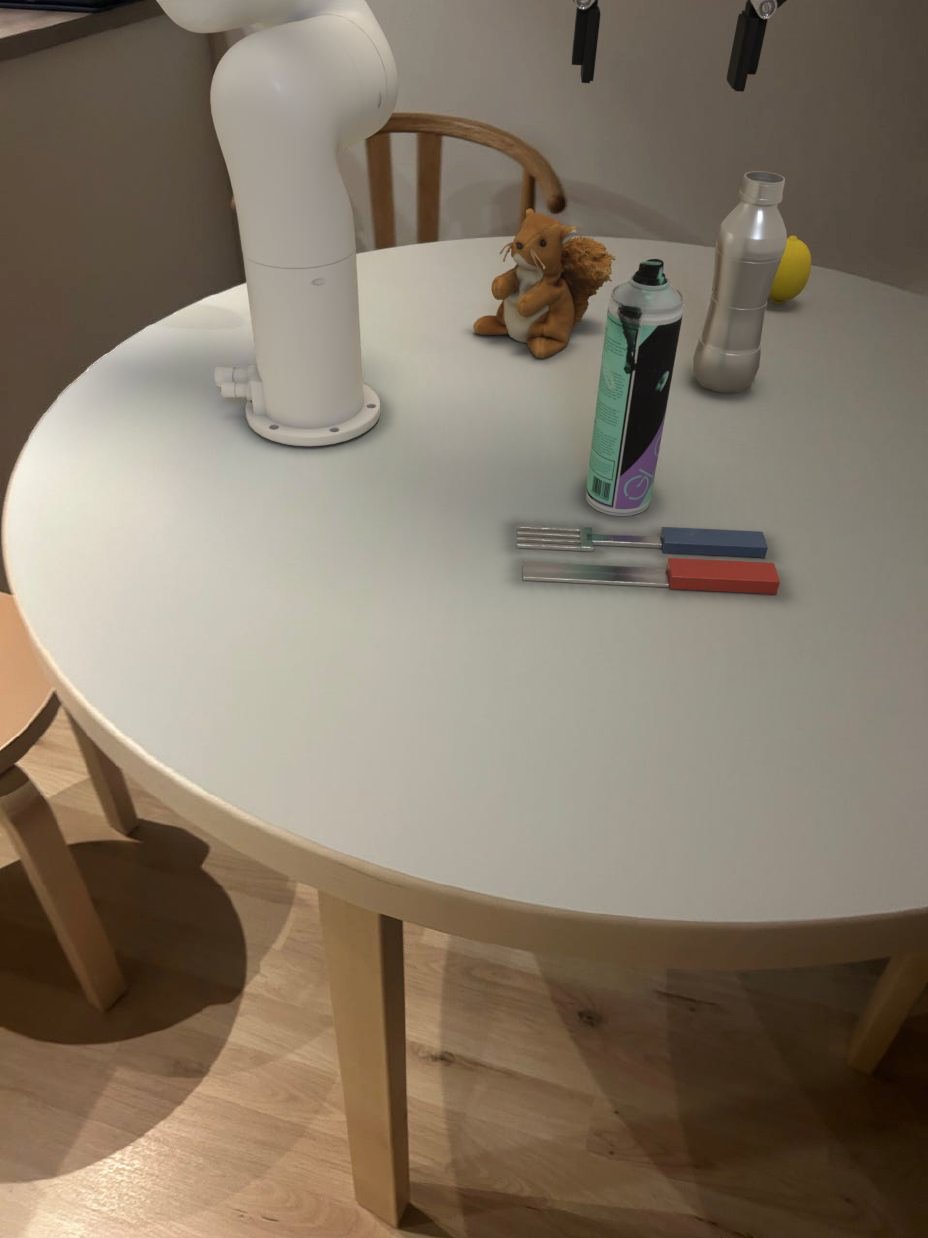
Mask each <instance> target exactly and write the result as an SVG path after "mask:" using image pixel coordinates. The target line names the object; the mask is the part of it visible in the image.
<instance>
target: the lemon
mask: <svg viewBox="0 0 928 1238" xmlns="http://www.w3.org/2000/svg"><path fill="white" fill-rule="evenodd" d="M811 271H812V255H811V251H810V249H809V248H808V246H807V244H806V243H805V242H803V241H802V240H801V239H798V237H797V236H796V235H790V236H789V237H787V244H786V248H785V251H784V254H783V256H782V259H781V262H780V264H779V267H778V270H777V273H776V275H775V278H774V281H773V284H772V287H771V291H770V295H769V298H768V299H771V300H772V301H773V304H775V305H781V304H783V303H784V302H786V301H787V302H788V301H790V300H793V299H794V298H796V297H797V296H799V295H800V294H801V293H802V292H803V290H804V289H805V288H806V286H807V283H808V281H809V278H810V275H811Z"/></svg>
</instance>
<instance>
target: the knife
mask: <svg viewBox="0 0 928 1238" xmlns="http://www.w3.org/2000/svg"><path fill="white" fill-rule="evenodd" d="M522 581H532V582H534V581H535V582H552V583H571V584H572V583H573V584H574V583H575V584H591V585H593V584H594V585H615V586H630V587H631V586H632V587H633V586H634V587H650V588H651V587H653V588H655V587H656V588H669V589H670V590H682V591H683V590H684V591H705V592H706V591H707V592H726V593H745V594H763V595H764V594H766V595H777V593H778V590H779V587H780V585H781V581H780V578H779V574H778V572H777V568H776V566H775V563H774V562H763V561H745V560H744V561H742V560H741V561H740V560H723V559H722V560H721V559H703V558H702V559H701V558H683V557H682V558H681V557H668V559H667V564H666V567H664V568H663V567H646V566H645V567H643V566H625V565H624V566H623V565H603V564H586V563H585V564H584V563H583V564H581V563H562V562H545V561H543V562H541V561H522Z"/></svg>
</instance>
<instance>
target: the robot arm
mask: <svg viewBox="0 0 928 1238" xmlns="http://www.w3.org/2000/svg"><path fill="white" fill-rule="evenodd" d="M155 1H156V2H157V3H158V5H159V6H160V8H161V9H162V10H163V12H164V13H165V14H166V15H167V16H168V17H169V19H170V20H172V22H174V23H175V24H176V25H177V26H178V27H180V28H182V29H184V30H186V31H189V32H191V33H196V34H197V33H198V34H213V33H221V32H226V31H230V30H235V29H240V28H243V27H246V26H247V27H248V26H251V25H254V24H256V25H257V26H258V28H259V29H260V30H258V31H256V32H254V33H253V32H252V33H251V34H248V35H246V36H245V37H243V38H241V39H240V40H238V41H236V42H235V43H234V44H233V45H232V46H231V47H230V48H229V49H228V50H227V51H226V52H224V55H223V56H222V57H221V59H220V60H219V62H218V64H217V66H216V68H215V71H214V73H213V76H212V80H211V85H210V96H209V97H210V99H209V100H210V101H209V102H210V111H211V117H212V122H213V126H214V130H215V133H216V134H215V135H216V137H217V141H218V143H219V146H220V150H221V153H222V156H223V159H224V163H225V166H226V169H227V172H228V176H229V181H230V184H231V189H232V194H233V199H234V205H235V210H236V216H237V224H238V231H239V238H240V239H239V240H240V247H241V252H242V258H243V259H242V260H243V265H244V266H243V267H244V274H245V282H246V288H247V298H248V306H249V313H250V322H251V329H252V338H253V345H254V353H255V362H256V364H248V366H247V367H236V366H228V365H227V366H226V365H225V366H224V365H222V366H221V365H216V366H215V367H214V370H213V371H214V372H213V381H214V385H215V386H216V387H217V388H220V393H221V396H222V398H234V399H235V398H246V400H247V401H246V403H245V416H246V421H247V423H248V426H249V427H250V428H251V430H253V431H254V433H256V434H258V435H259V436H260V437H263V438H265V439H267V440H269V441H272V442H275V443H279V444H283V445H287V446H295V447H321V446H322V447H323V446H328V445H335V444H339V443H344V442H347V441H351V440H353V439H355V438H358V437H360V436H362V435H363V434H365V433H367V432H368V431H370V429H372V428H373V427H374V426H375V425H376V423H378V421H379V419H380V416H381V400H380V397H379V395H378V393H377V392H376V391H375V390H374V389H372V387H370V386H369V385H367V384H366V383H364V382H363V380H364V379H363V359H362V343H361V342H362V340H361V323H360V322H361V320H360V304H359V303H360V302H359V301H360V299H359V282H358V281H359V280H358V265H357V246H356V231H355V230H356V229H355V220H354V212H353V208H352V204H351V199H350V197H349V193H348V190H347V188H346V185H345V184H344V181H343V177H342V175H341V172H340V169H339V165H338V157H337V155H338V154H339V153H341V152H342V151H344V150H346V149H348V148H350V147H352V146H355V145H357V144H359V143H361V142H363V141H365V140H366V139H369V138H370V137H372V136H373V135H375V134H376V133H378V132H379V131H380V130H382V129H383V128H384V127H385V125H386V124H387V123H388V121H389V120H390V118H391V117H392V115H393V113H394V110H395V108H396V104H397V102H398V97H399V75H398V69H397V64H396V60H395V57H394V54H393V51H392V48H391V46H390V44H389V42H388V39H387V38H386V37H387V36H386V35H385V33H384V31H383V30H382V27H381V25H380V24H379V22H378V21H377V18H376V16H375V15H374V13H373V11H372V9H371V8H370V6H369V4H368V3H367V1H366V0H155ZM572 1H573V2H574V5H575V6H576V10H575V11H576V12H575V20H574V31H573V40H572V41H573V42H572V52H571V66H580V80H581V84H591V82H594V77H595V70H596V69H595V67H596V59H597V52H598V51H597V50H598V42H599V41H598V40H599V31H600V23H601V10H600V7H599V0H572ZM787 1H788V0H746V2H745V6H744V10H741V13H738V16H737V21H736V27H735V30H734V37H733V41H732V47H731V51H730V52H731V53H730V57H729V62H728V68H727V73H726V82H727V83H728V85H729V86H730V87H731V89H733V90H734V91H735V92H740V93H741V92H744V91H745V89H746V84H747V80H748V75H750V76H751V75H752V76H753V75H756V74H757V71H758V68H759V65H760V58H761V54H762V49H763V44H764V39H765V35H766V31H767V30H766V29H767V25H768V20H769V19H770V18H772V17H774V15H775V14H776V12H777V10H778V9H779V8H780V7H781V6H783V4H785V3H786V2H787Z"/></svg>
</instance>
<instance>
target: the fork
mask: <svg viewBox="0 0 928 1238" xmlns="http://www.w3.org/2000/svg"><path fill="white" fill-rule="evenodd" d="M516 530H517V531H516V536H517V537H516V548H517V549H532V550H533V549H534V550H535V549H537V550H557V551H575V552H594V546H610V547H630V548H647V549H648V548H649V549H650V548H651V549H662V553H664V554H667V553H668V554H681V555H682V554H685V555H703V556H704V555H705V556H723V557H724V556H725V557H745V558H746V557H747V558H748V557H749V558H763V559H764V558H766V555H767V552H768V543H767V540H766V538H765V534H764V531H760V530H758V531H757V530H737V529H719V528H717V529H714V528H695V527H676V526H675V527H674V526H661V530H660V534H659V535H660V536H646V535H645V536H643V535H623V534H604V533H603V534H602V533H593V528H592V527H591V526H579V527H571V526H570V527H565V526H547V525H529V524H527V525H526V524H525V525H524V524H517V525H516Z"/></svg>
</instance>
